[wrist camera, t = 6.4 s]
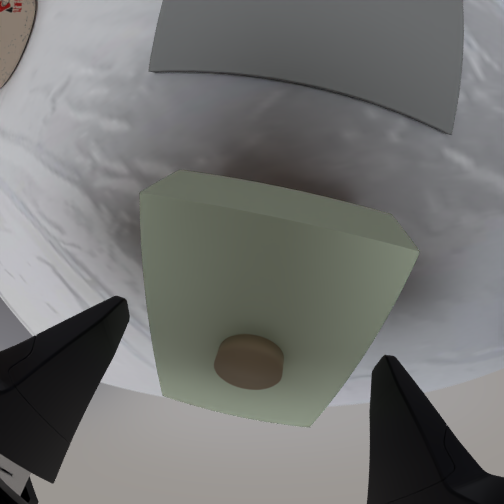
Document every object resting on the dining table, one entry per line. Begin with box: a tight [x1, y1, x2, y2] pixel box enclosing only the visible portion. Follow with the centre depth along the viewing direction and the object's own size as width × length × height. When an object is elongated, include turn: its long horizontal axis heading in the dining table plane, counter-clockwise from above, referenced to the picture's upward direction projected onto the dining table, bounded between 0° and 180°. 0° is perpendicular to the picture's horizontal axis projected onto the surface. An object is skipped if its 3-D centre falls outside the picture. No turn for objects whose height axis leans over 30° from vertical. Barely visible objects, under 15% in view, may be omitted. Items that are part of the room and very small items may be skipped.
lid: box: [140, 170, 420, 427], centre depth 9 cm, size 7×9×3 cm
